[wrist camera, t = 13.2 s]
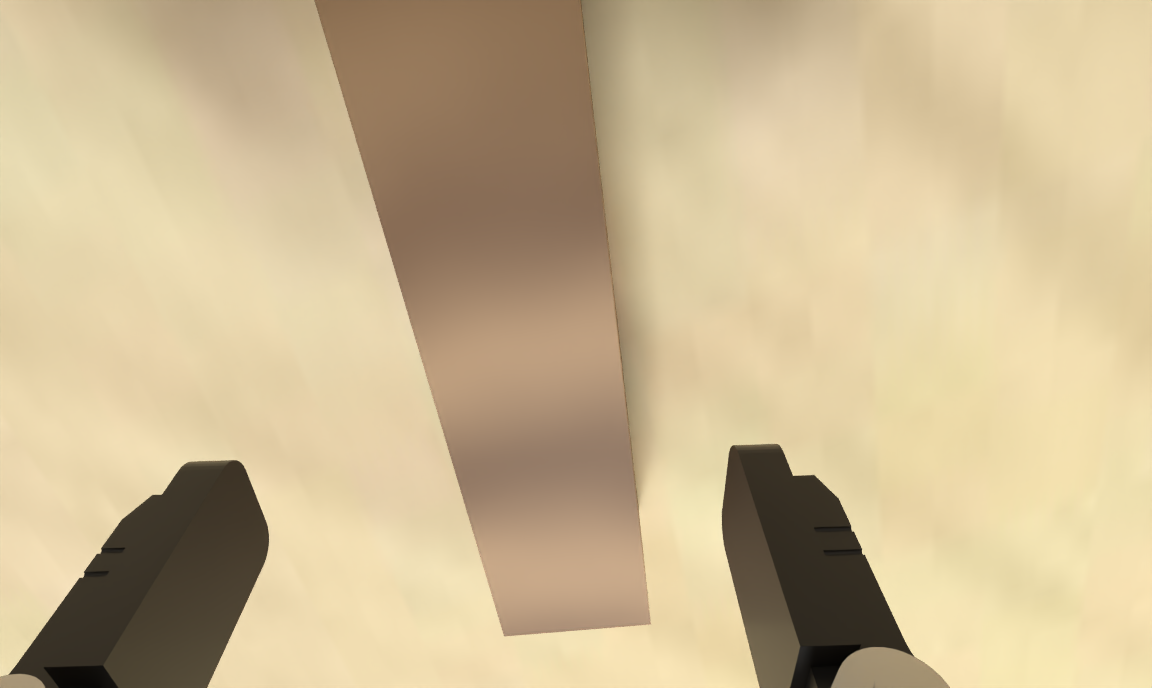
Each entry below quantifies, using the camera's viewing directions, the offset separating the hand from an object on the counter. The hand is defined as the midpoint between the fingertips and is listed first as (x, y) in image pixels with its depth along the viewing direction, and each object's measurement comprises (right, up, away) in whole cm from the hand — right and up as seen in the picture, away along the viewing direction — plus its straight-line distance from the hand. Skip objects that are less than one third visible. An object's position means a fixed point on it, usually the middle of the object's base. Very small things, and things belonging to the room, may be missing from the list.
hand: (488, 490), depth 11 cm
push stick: (0, +7, +5) cm, 9 cm away
